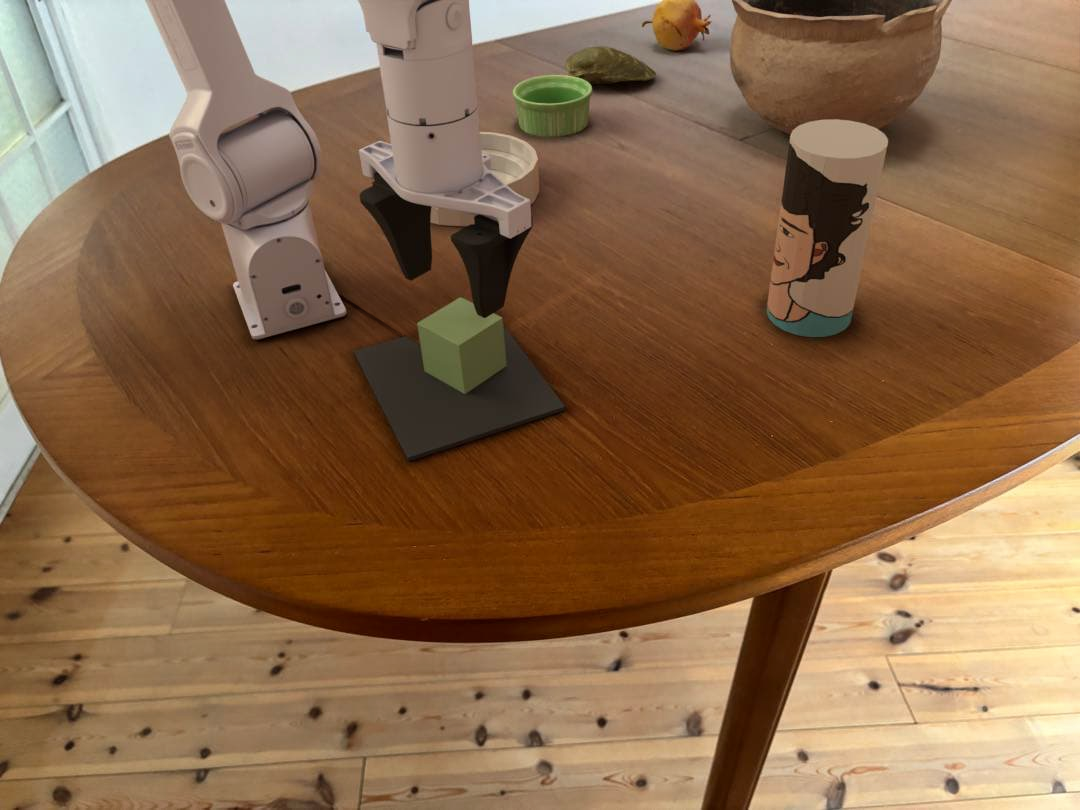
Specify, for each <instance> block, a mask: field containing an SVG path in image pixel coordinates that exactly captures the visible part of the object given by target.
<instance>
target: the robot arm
mask: <svg viewBox="0 0 1080 810" xmlns="http://www.w3.org/2000/svg"><path fill="white" fill-rule="evenodd" d="M144 2H145V4H146V5H147V8H148V11H149V12H150V14H151V17H152V18H153V19H152V20H153V21H154V24H155V26H156V28H157V30H158V33H159V34H160V37H161V38H162V41H163V43H164V45H165V48H166V50H167V52H168V54H169V56H170V59H171V61H172V63H173V65H174V67H175V70H176V72H177V74H178V76H179V78H180V81H181V83H182V85H183V88H184V90H185V91H186V94H187V95H186V98H185V100H184V102H183V104H182V107H181V108H180V110H179V112H178V114H177V116H176V118H175V120H174V122H173V124H172V125H171V128H170V130H169V132H168V133H169V134H168V137H169V139H170V141H171V143H172V145H173V148H174V151H175V154H176V157H177V160H178V165H179V172H180V177H181V181H182V184H183V186H184V189H185V191H186V193H187V195H188V196H189V198H190V200H191V201H192V202H193V203H194V205H195V206H196V207H197V208H198V209H199V210H200V211H201V212H202V213H203V214H204V215H205V216H207V217H208V218H210V219H212V220H213V221H215V222H217V223H220V225H221V229H222V232H223V235H224V238H225V242H226V246H227V248H228V253H229V255H230V259H231V262H232V265H233V270H234V273H235V275H236V279H237V281H235V282H233V284H232V286H233V289H234V293H235V296H236V298H237V301H238V304H239V307H240V309H241V312H242V314H243V317H244V320H245V322H246V326H247V328H248V332H249V333H250V337H251V338H252V339H253V340H256V341H257V340H261V339H265V338H269V337H272V336H276V335H279V334H284V333H287V332H292V331H295V330H298V329H302V328H306V327H310V326H313V325H316V324H320V323H324V322H327V321H331V320H334V319H339V318H342V317H345V316H346V315H347V308H346V306H345V305H344V302H343V300H342V299H341V297H340V295H339V293H338V291H337V289H336V288H335V286H334V284H333V282H332V280H331V277H330V276H329V274H328V273H327V271H326V269H325V268H326V267H325V264H324V259H323V256H322V253H321V248H320V245H319V240H318V236H317V230H316V227H315V223H314V222H315V221H314V218H313V213H312V209H311V204H310V200H309V198H311V197H312V195H314V194H315V188H314V183H313V181H314V180H315V179H316V178H318V177H319V176H320V173H321V171H322V167H323V157H322V150H321V149H322V148H321V144H320V142H319V140H318V137H317V135H316V133H315V131H314V129H313V128H312V127H311V125H310V123H308V122H307V121H306V119H305V118H304V116H303V115H302V113H301V112H300V111H299V109H298V107H297V105H296V103H295V100H294V97H293V95H292V93H291V90H289V89H288V88H286V87H284V86H282V85H280V84H277V83H275V82H273V81H270V80H269V79H266V78H265V77H262V76H259V75H258V74H256V73H255V70H254V67H253V65H252V63H251V61H250V58H249V56H248V54H247V51H246V48H245V46H244V44H243V41H242V39H241V37H240V34H239V32H238V29H237V26H236V24H235V22H234V20H233V16H232V15H231V12H230V10H229V7H228V5H227V2H226V0H144ZM357 2H358V3H359V5H360V8H361V10H362V14H363V19H364V26H365V32H367V33H368V34H369V36H370V37H369V38H370V40H371V41H372V42H373V43H374V44H376V49H377V57H378V58H377V59H378V63H379V70H380V71H379V72H380V78H381V84H382V91H383V97H384V104H385V110H386V112H385V113H386V119H387V126H388V132H389V139H390V140H389V141H390V143H388V142H385V141H382V140H378V141H376V142H374V143H370V144H369V145H367V146H365V147H362V148H360V149H358V154H359V159H360V165H361V171H362V175H363V176H364V177H367V178H369V179H373V180H374V181H372V182H371V184H372V186H369V187H367V188H365V189H363V190H362V191H361V192H359V195H358V196H359V202H360V204H361V205H362V206H363V207H364V209H366V210H367V211H368V213H369V214H370V215H371V217H372V218H373V219H374V221H375V222H376V223H377V225H378V226H379V228H380V229H381V231H382V233H383V234H384V237H385V238H386V240H387V242H388V244H389V246H390V249H391V251H392V252H393V255H394V257H395V260H396V261H397V264H398V266H399V268H400V270H401V273H402V275H403V276H404V278H405V279H406V280H408V281H410V282H412V281H414V280H415V279H417V278H419V277H420V276H422V275H424V274H426V273H428V272H430V271H431V270H432V265H433V247H432V234H431V233H432V232H431V223H430V220H431V206H433V207H439V208H445V209H451V210H457V211H463V212H466V213H468V214H470V215H473V216H475V217H474V223H475V224H474V225H473V224H471V225H469V226H464V227H463V228H461V229H460V230H458V231H456V232H454V233H452V234H451V235H450V241H451V243H452V245H453V246H454V247H455V250H457V252H458V253H459V254H458V255H459V256H460V258H461V260H462V262H463V266H464V267H465V271H466V274H467V277H468V282H469V286H470V287H469V288H470V293H471V299H472V303H473V304H474V307H475V310H476V312H477V314H478V315H479V316H481V317H483V318H486V317H488V316H490V315H491V314H493V313H494V314H495V313H496V312H498V311H499V310H502V308H504V307H505V303H506V297H507V292H508V287H509V283H510V279H511V275H512V271H513V268H514V265H515V263H516V259H517V257H518V254H519V253H520V250H521V248H522V246H523V245H524V242H525V240H526V239H527V237H528V236H529V233H530V232H531V230H532V229H533V227H534V223H533V222H534V221H533V216H532V210H531V209H532V208H531V205H530V200H529V199H527V198H525V197H523V196H521V195H519V194H517V193H516V192H514V191H513V190H512V189H510V188H509V187H508V186H507V185H506V184H505V183H504V182H503V181H501V180H500V179H499V178H498V177H497V176H496V175H495V174H494V173H492V172H491V171H490V170H489V169H488V168H489V167H490V166H491V158H490V156H489V155H487V154H484V153H481V141H480V132H481V131H480V119H479V105H478V95H477V83H476V69H475V58H474V46H473V35H472V33H473V32H472V24H471V23H472V22H471V21H472V20H471V12H470V11H471V9H470V0H357ZM255 116H256V117H255ZM252 117H254V118H253V119H250V118H252ZM248 119H250V120H248ZM246 120H248V121H246ZM244 121H246V122H244ZM241 122H244V123H241ZM239 123H241V124H239ZM237 124H239V125H237ZM234 125H237V126H234ZM233 126H234V127H233ZM230 127H233V128H230ZM228 128H230V129H228ZM227 129H228V130H227Z"/></svg>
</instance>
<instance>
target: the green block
mask: <svg viewBox="0 0 1080 810" xmlns="http://www.w3.org/2000/svg"><path fill="white" fill-rule="evenodd" d="M503 319H504V318H503V317H502V316H501V315H498V314H496V313H495V312H494V313H493V314H491V315H490V316H488V317H486V318H483V317H481V316H479V315H478V314H477V312H476V310H475V307H474V304H473V301H472V302H471V301H470V300H467V299H466V298H463V297H461V296H460V297H458V298H456V299H455V300H453V301H452V302H450V303H448V304H446V305H445V306H443V307H442V308H439V309H438V310H436V311H435V312H433V313H432V314H430V315H428V316H427V317H425V318H423V319H421V320H420V321H418V322H417V323H416V325H417V332H418V338H419V344H420V345H421V352H422V358H423V365H424V371H425V372H427V373H429V374H430V375H432V376H434V377H436V378H437V379H439V380H441V381H443V382H444V383H446V384H448V385H450V386H451V387H453V388H455V389H457V390H458V391H460V392H462V393H464V394H466V393H468V392H469V391H470V390H472V389H473V388H475V387H476V386H478V385H479V384H481V383H482V382H484V381H485V380H487V379H488V378H490V377H491V376H492V375H494V374H495V373H497V372H498V371H500V370H501V369H503V368H504V367H506V366H507V365H506V353H505V341H504V329H503V326H504V320H503Z"/></svg>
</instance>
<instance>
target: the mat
mask: <svg viewBox="0 0 1080 810" xmlns="http://www.w3.org/2000/svg"><path fill="white" fill-rule="evenodd" d="M503 329H504V341H505V353H506V365H507V366H506V367H504V368H503V369H501V370H500V371H498V372H497V373H495V374H494V375H492V376H491V377H490V378H488V379H487V380H485V381H484V382H482V383H481V384H479V385H478V386H476V387H475V388H473V389H472V390H470V391H469V392H468V393H466V394H464V393H462V392H460V391H458V390H457V389H455V388H453V387H451V386H450V385H448V384H446V383H444V382H443V381H441V380H439V379H437V378H436V377H434V376H432V375H430V374H429V373H427V372H425V371H424V365H423V358H422V352H421V345H420V343H419V342H417V341H415V340H414V339H412V338H410V337H409V336H407V335H405V336H402V337H397V338H394V339H392V340H387V341H384V342H380V343H377V344H374V345H370V346H367V347H363V348H359V349H355V350H354V351H353V355H354V357H355V358H356V361H357V362H358V365H359V366H360V368H361V371H362V372H363V375H364V376H365V379H366V380H367V382H368V384H369V386H370V388H371V390H372V392H373V394H374V396H375V398H376V400H377V402H378V404H379V406H380V408H381V410H382V412H383V414H384V416H385V418H386V420H387V421H388V424H389V425H390V427H391V429H392V432H393V434H394V435H395V437H396V439H397V442H398V443H399V446H400V447H401V449H402V451H403V453H404V455H405V457H406V459H407V461H408V462H412V461H415V460H419V459H422V458H424V457H428V456H430V455H434V454H436V453H439V452H442V451H446V450H449V449H452V448H454V447H458V446H461V445H464V444H468V443H470V442H473V441H475V440H479V439H483V438H486V437H488V436H491V435H495V434H498V433H500V432H504V431H506V430H510V429H513V428H516V427H519V426H522V425H525V424H528V423H531V422H534V421H537V420H541V419H543V418H547V417H550V416H552V415H555V414H558V413H561V412H565V411H566V406H565V404H564V403H563V402H562V400H561V399H560V398H559V396H558V395H557V394H556V393H555V391H554V390H553V388H552V387H551V385H550V384H549V383H548V382H547V380H545V378H544V376H543V375H542V374H541V373H540V371H539V370H538V369H537V367H536V366H535V365H534V363H533V362H532V361H531V359H530V358H529V357H528V356H527V354H526V353H525V352H524V351H523V349H522V348H521V346H520V345H519V344H518V342H517V341H516V340H515V339H514V337H513V336H512V334H511V333H510V331H508V330H507V328H506V327H505V326H504V325H503Z"/></svg>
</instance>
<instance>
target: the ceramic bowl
mask: <svg viewBox="0 0 1080 810" xmlns="http://www.w3.org/2000/svg"><path fill="white" fill-rule="evenodd" d="M952 1H953V0H731V3H732V5H733V9H734V11H735V13H736V19H735V21H734V24H733V26H732V29H731V35H730V40H729V41H730V44H729V65H730V70H731V75H732V78H733V80H734V82H735V84H736V85H737V87H738V89H739V91H740V93H741V95H742V96H743V98H744V99H745V101H746V103H747V105H748V106H749V107H750V108H751V109H752V110H753V111H754V112H755V113H756V114H757V115H759V116H760V118H761V119H762V120H763V121H765V122H766V123H767V124H769V125H770V126H771V127H773V128H774V129H776V130H778V131H780V132H783V133H785V134H788V135H790V136H791V133H792V131H793V130H794V129H795V128H796V127H798V126H799V125H802V124H805V123H807V122H812V121H818V120H833V119H837V120H848V121H854V122H859V123H863V124H867V125H869V126H872V127H874V128H877V129H878V130H880V129H882V128H885V126H888V125H889V124H891V123H892V122H893V121H894V120H897V118H898V117H900V116H901V115H902V114H903V113H904V112H905V111H906V110H907V109H908V108H909V107H911V105H913V103H914V102H915V101H916V100H917V99H918V98H919V97H920V95H922V93H923V91H924V89H925V88H926V86H927V85H928V83H929V82H930V80H931V78H932V77H933V75H934V73H935V70H936V68H937V66H938V64H939V60H940V57H941V51H942V49H941V48H942V41H943V40H942V39H943V38H942V37H943V35H942V34H943V26H942V20H943V17H944V15H945V14H946V12H947V10H948V8H949V6H950V4H951V3H952Z"/></svg>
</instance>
